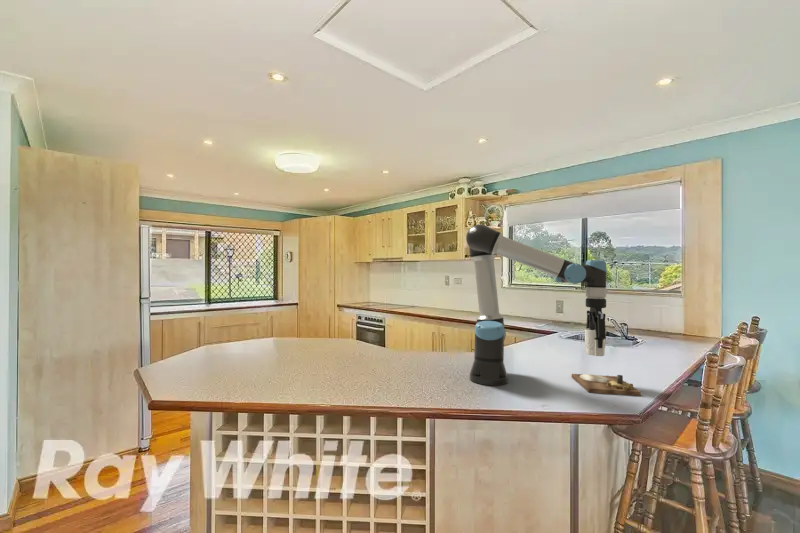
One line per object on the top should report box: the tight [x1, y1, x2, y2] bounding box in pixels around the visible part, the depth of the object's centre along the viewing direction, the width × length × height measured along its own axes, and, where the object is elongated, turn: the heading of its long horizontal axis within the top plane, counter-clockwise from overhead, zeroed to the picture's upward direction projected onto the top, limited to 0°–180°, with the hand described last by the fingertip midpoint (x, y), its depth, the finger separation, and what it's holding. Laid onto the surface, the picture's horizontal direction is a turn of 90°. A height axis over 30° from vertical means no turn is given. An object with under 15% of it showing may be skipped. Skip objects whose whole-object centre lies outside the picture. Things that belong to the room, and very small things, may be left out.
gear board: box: [571, 373, 642, 397], centre depth 150 cm, size 18×21×6 cm
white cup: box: [584, 328, 607, 357], centre depth 154 cm, size 8×8×10 cm
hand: (595, 353), depth 154 cm, fingers closed on white cup, 7 cm apart
